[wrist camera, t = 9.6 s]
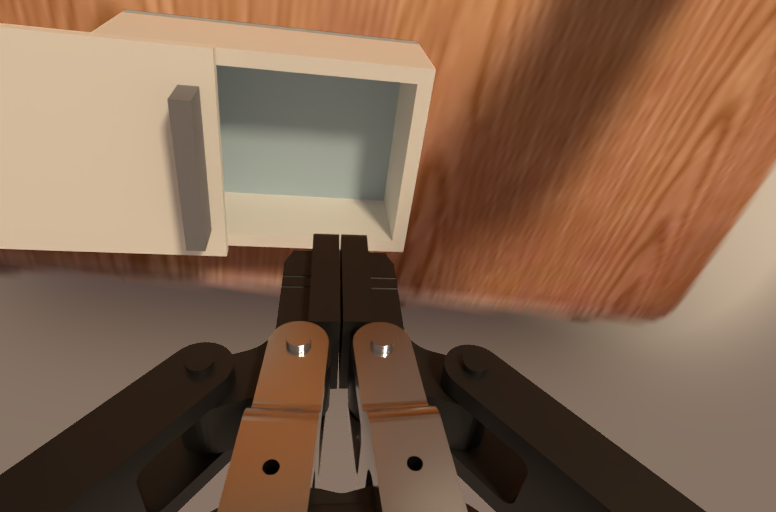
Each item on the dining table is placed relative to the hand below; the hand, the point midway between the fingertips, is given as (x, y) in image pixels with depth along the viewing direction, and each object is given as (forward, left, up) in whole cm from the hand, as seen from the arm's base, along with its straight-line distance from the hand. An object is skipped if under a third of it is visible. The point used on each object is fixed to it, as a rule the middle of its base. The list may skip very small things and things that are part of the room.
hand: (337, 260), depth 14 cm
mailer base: (+3, +7, -27) cm, 28 cm away
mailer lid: (+16, +7, -20) cm, 27 cm away
